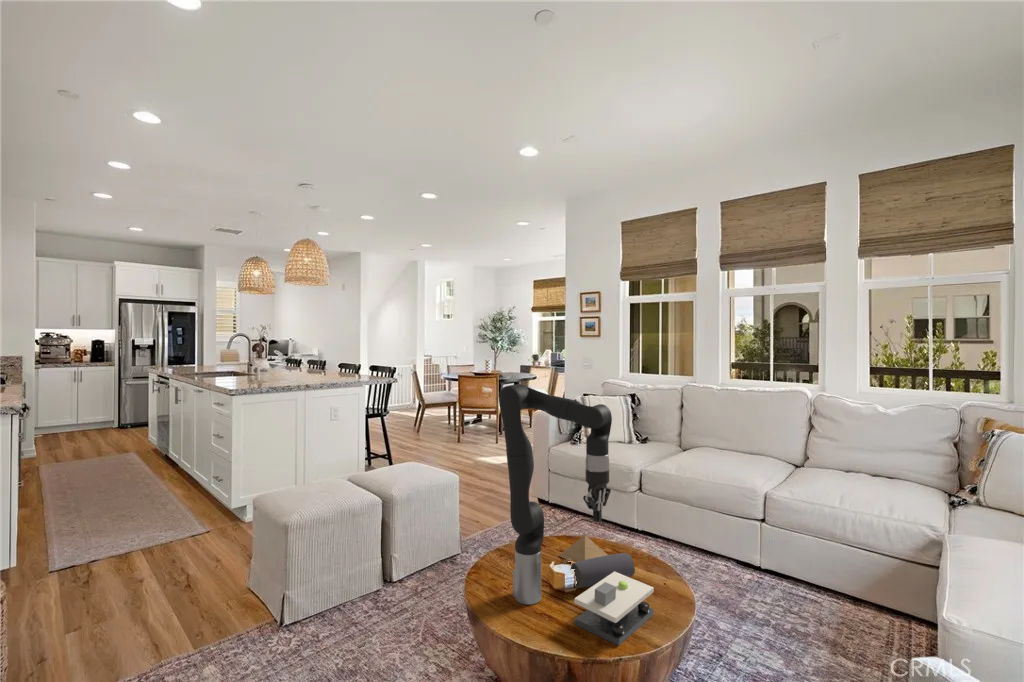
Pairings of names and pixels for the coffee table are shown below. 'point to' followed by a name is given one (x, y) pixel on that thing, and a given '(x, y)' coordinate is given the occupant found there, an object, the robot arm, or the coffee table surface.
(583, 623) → the tribrach base
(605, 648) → the coffee table surface
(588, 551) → the model pyramid
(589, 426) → the robot arm
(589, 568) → the bluetooth speaker
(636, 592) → the plate
